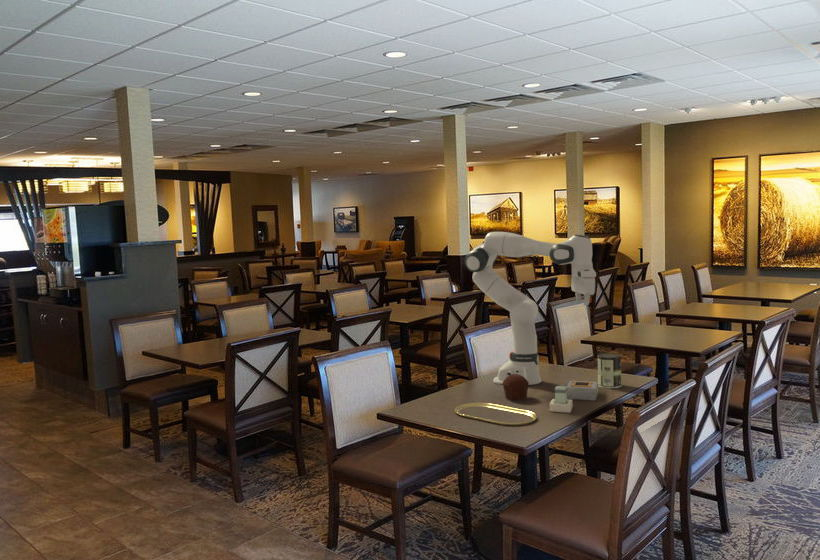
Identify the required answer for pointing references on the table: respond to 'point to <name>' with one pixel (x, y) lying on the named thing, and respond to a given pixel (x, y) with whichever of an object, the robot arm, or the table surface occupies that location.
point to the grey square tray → (561, 406)
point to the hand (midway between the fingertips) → (582, 303)
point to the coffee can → (609, 370)
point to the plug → (561, 394)
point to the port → (582, 390)
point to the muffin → (515, 387)
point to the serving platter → (495, 408)
